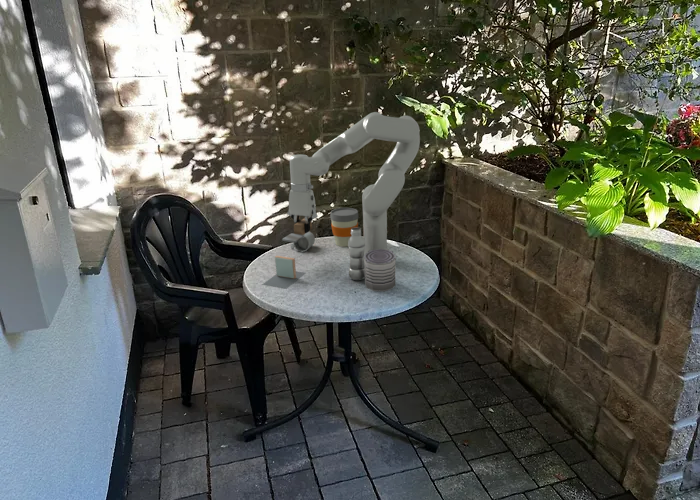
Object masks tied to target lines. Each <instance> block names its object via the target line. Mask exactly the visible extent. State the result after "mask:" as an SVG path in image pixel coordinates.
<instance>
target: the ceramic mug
mask: <svg viewBox="0 0 700 500" xmlns="http://www.w3.org/2000/svg"><path fill="white" fill-rule="evenodd" d="M304 236H305V237H304V238H302V239H301V240H299V241H298V242H296V243H294V242H292V243H291V244H290V245H289V246H290V248H291V249H296V250H297V251H298V252H303V253H304V252H307V251H308V250H310V248H311V247H312V246H313V245H314V244H315V241H316V238H315V235H314V233H313V232H311V231H309V232H307V233H306V234H304Z"/></svg>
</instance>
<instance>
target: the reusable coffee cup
mask: <svg viewBox="0 0 700 500" xmlns="http://www.w3.org/2000/svg"><path fill="white" fill-rule="evenodd" d="M329 217H330V220H331V223H330V224H331V230H332V235H333V237H334V241H335V242H334V243H335V245H336V246H337V247H342V248H348V240H349V238H350V237H351V236H352V235H351V229H352V228H359V222H358V220H359V211H358V210H357V209H356V208H353V207H339V208H335V209H331V211H330V216H329Z"/></svg>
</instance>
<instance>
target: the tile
mask: <svg viewBox="0 0 700 500" xmlns="http://www.w3.org/2000/svg"><path fill="white" fill-rule="evenodd" d="M274 261H275V270H276V273H275V274H277V276H281V277H287V278H293V279H295V278H296V271H297V270H296V259H295V257H288V256H282V255H275V256H274Z"/></svg>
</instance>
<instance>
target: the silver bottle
mask: <svg viewBox="0 0 700 500" xmlns="http://www.w3.org/2000/svg"><path fill="white" fill-rule="evenodd" d="M351 235H352V236H351V237H350V238H349V240H348V247H347V248H348V253H349V266H348V267H349V268H348V276H349V278H350V279H351V280H353V281H362V280H365V264H364V249H365V240H364V239H363V236H362V229H361V227H358V228H352V229H351Z"/></svg>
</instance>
